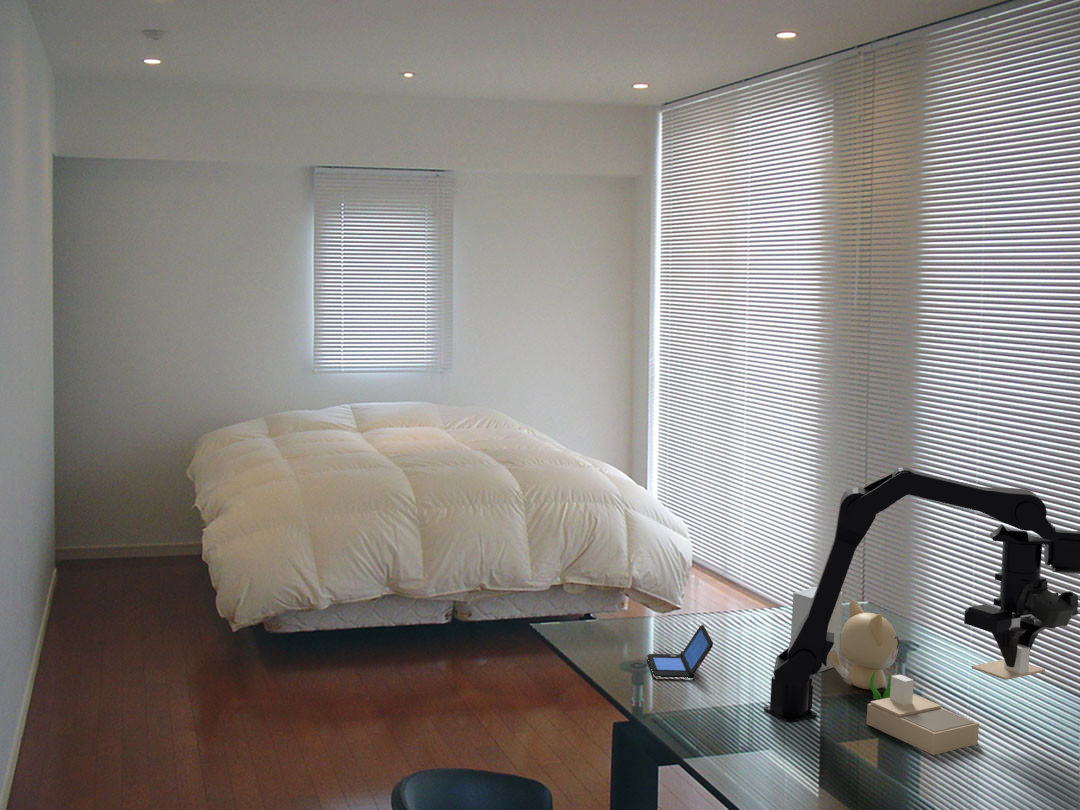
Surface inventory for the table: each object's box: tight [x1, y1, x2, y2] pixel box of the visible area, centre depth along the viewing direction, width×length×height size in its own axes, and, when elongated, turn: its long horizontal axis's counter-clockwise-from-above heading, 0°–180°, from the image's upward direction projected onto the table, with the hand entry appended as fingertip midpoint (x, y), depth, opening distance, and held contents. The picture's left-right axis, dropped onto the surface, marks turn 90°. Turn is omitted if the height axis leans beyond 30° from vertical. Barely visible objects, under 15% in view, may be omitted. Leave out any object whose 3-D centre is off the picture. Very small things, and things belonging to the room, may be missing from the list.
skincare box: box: [790, 585, 843, 674], centre depth 213 cm, size 8×6×15 cm
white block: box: [971, 644, 1046, 681], centre depth 180 cm, size 9×6×4 cm
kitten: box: [828, 599, 900, 700], centre depth 202 cm, size 15×10×15 cm
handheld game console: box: [646, 624, 714, 679], centre depth 210 cm, size 12×11×7 cm
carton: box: [866, 703, 980, 756], centre depth 181 cm, size 10×14×4 cm
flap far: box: [869, 674, 942, 717], centre depth 184 cm, size 9×6×4 cm
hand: (1015, 665), depth 179 cm, fingers closed on white block, 2 cm apart
